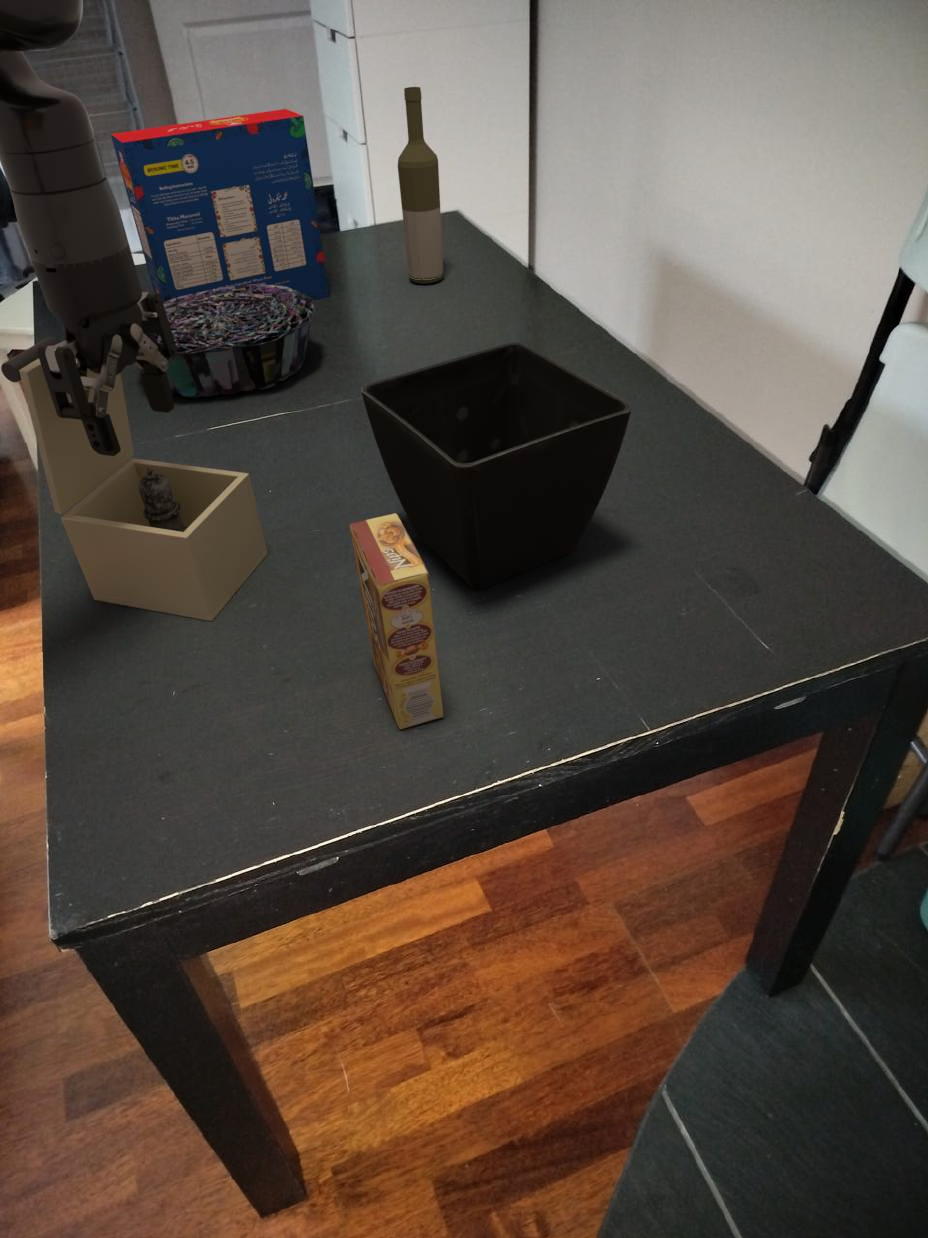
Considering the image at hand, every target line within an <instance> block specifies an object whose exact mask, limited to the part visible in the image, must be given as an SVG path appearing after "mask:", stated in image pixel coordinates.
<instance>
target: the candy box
mask: <svg viewBox="0 0 928 1238" xmlns="http://www.w3.org/2000/svg"><path fill="white" fill-rule="evenodd" d="M349 529H350V534H351V535H350V536H351V541H352V542H351V543H352V547H353V552H354V559H355V563H356V565H355V566H356V569H357V574H358V582H359V586H360V592H361V598H362V604H363V609H364V616H365V621H366V626H367V631H368V636H369V642H370V647H371V654H372V659H373V665H374V667H375V670H376V673H377V675H378V678H379V681H380V684H381V686H382V689H383V693H384V694H385V697H386V699H387V702H388V705H389V707H390V711H391V712H392V715H393V718H394V720H395V722H396V725H397V727H398V729H399V730H404V729H407V728H411V727H414V726H417V725H420V724H424V723H427V722H431V721H434V720H438V719H441V718H444V707H443V706H444V705H443V699H442V697H443V696H442V689H441V679H440V670H439V669H440V668H439V661H438V651H437V650H438V649H437V641H436V631H435V630H436V629H435V622H434V613H433V604H432V595H431V594H432V593H431V585H430V584H431V583H430V574H429V571H428V569H427V566H426V565H425V562H424V561H423V559H422V557H421V555H420V553H419V551H418V550H417V548H416V546H415V544H414V541H413V540H412V538H411V537H410V535H409V533H408V532H407V529H406V527H405V525H404V524H403V523H402V520H401V518H400V517H399V515H398V513H395V512H394V513H391V514H387V515H382V516H378V517H373V518H368V519H365V520H360V521H356V522H353V523H350V524H349Z"/></svg>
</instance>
